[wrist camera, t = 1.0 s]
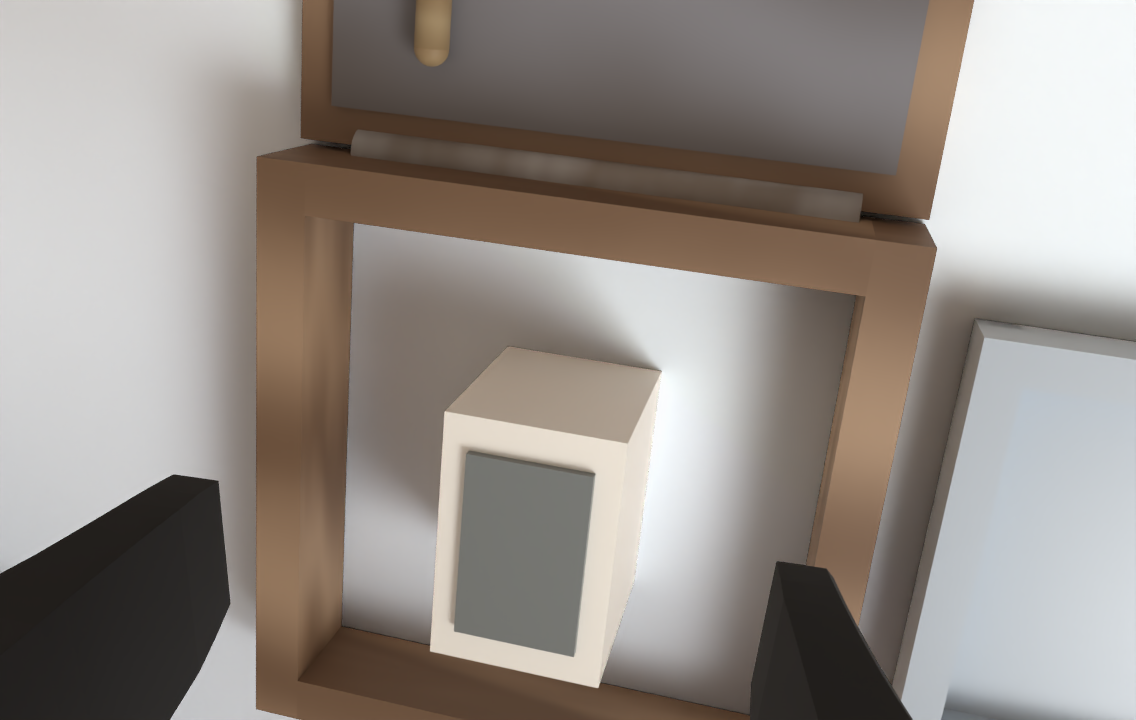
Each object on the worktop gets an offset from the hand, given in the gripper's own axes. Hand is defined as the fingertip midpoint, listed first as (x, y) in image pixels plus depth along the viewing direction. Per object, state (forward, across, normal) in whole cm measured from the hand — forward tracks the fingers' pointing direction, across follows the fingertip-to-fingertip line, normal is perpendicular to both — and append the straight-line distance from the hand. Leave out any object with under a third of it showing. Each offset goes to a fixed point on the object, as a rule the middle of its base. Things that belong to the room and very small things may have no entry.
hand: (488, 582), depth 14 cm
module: (+13, 0, +7) cm, 14 cm away
